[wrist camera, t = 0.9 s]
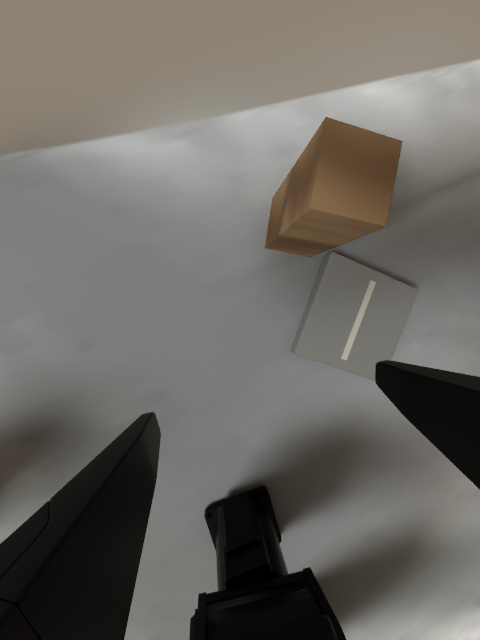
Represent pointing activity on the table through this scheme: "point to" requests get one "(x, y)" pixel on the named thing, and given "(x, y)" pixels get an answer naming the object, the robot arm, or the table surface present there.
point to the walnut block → (334, 190)
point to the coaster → (353, 317)
